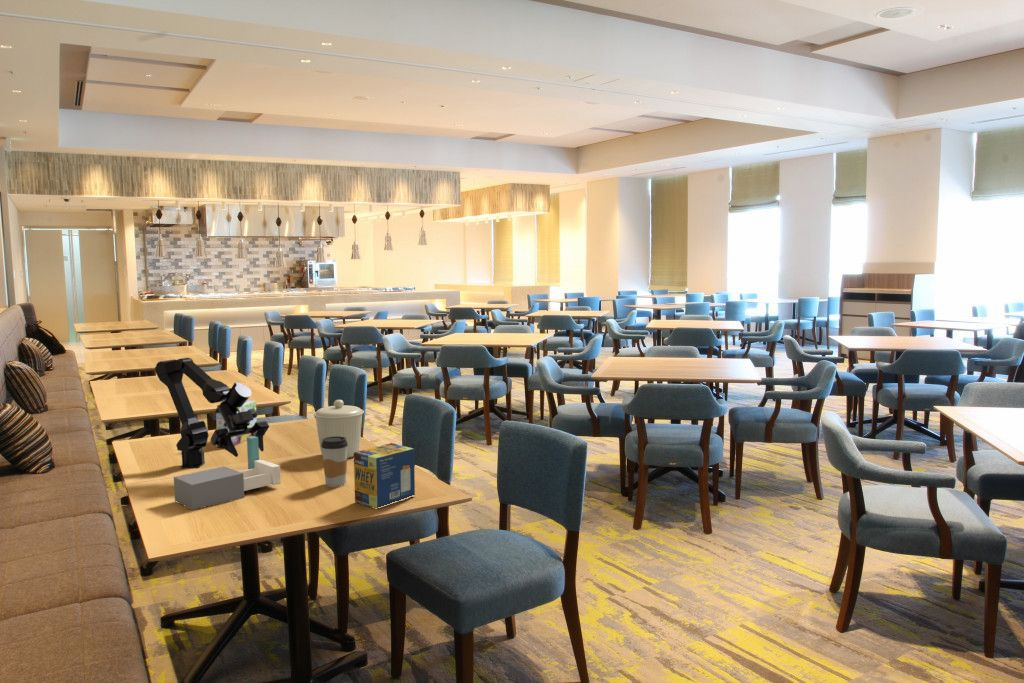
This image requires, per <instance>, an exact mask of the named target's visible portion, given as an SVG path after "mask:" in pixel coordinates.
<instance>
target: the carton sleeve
mask: <svg viewBox="0 0 1024 683" xmlns="http://www.w3.org/2000/svg"><path fill="white" fill-rule="evenodd" d="M173 487H174V488H173V490H174V491H173V492H174V502H175V501H177V502H179V503H181V504H183V505H185V506H187V507H189V508H188V509H190V508H191V509H190V510H192V509H196V510H199V509H198V508H200V509H202V508H201V507H204V506H208V507H210V506H209V505H212V506H214V505H213V504H216V505H219V504H218V503H220V504H224V503H228V502H232V501H235V500H239V498H240V499H244V498H245V491H244V479H243V473H241V472H240V471H238V470H236V469H233V468H230V467H227V466H224V465H223V466H220V467H219V466H218V467H214V468H210V469H205V470H200V471H195V472H191V473H186V474H182V475H177V476H174V477H173ZM231 500H232V501H231ZM227 501H228V502H227ZM177 502H176V503H177ZM223 502H224V503H223ZM179 503H178V504H179ZM181 504H180V505H181ZM183 505H182V506H183ZM185 506H184V507H185ZM187 507H186V508H187ZM204 508H205V507H204Z"/></svg>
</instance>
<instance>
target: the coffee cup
mask: <svg viewBox="0 0 1024 683" xmlns="http://www.w3.org/2000/svg"><path fill="white" fill-rule="evenodd" d="M347 446H348V444H347V441H346V438H345V437H341V436H334V437H327V438H324V439H323V442H322V446H321V447H322V452H323V454H322V464H323V473H324V480H325V481H324V482H325V485H326V486H327V487H329V486H330V487H329V488H338V487H337V486H340V487H342V486H341V485H343V486H345V485H346V483H347V469H348V468H347V466H348V458H347ZM322 452H321V453H322ZM344 484H345V485H344Z"/></svg>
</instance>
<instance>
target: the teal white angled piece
mask: <svg viewBox="0 0 1024 683" xmlns="http://www.w3.org/2000/svg"><path fill="white" fill-rule="evenodd" d="M246 449H247V450H246V451H247V452H246V453H247V469H245V470H244V469H243V470H240V471H239V472H241V473H243V479H244V492H246V491H249V490H250V491H251V490H253V489H254V490H255V489H257V488H261V487H266V486H270V485H271V486H272V485H273V486H275V485H279V484H281V465H280V464H279V465H278V464H276V463H273V462H269V461H267V460H263V459H260V452H259V451H260V449H259V445H258V437H255V436H251V437H247V440H246Z"/></svg>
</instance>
